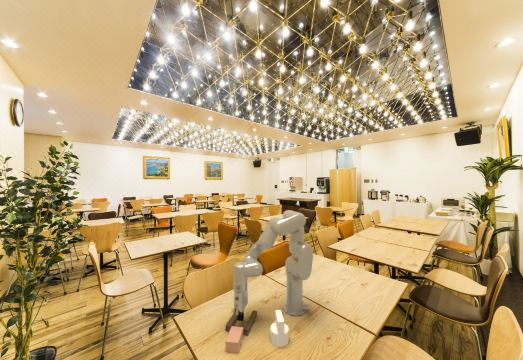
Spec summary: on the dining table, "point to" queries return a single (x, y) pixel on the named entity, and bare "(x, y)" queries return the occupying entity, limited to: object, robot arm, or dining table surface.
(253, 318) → the chute
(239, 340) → the block
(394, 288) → the dining table surface
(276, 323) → the base with upright slab
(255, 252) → the robot arm
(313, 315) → the dining table surface
